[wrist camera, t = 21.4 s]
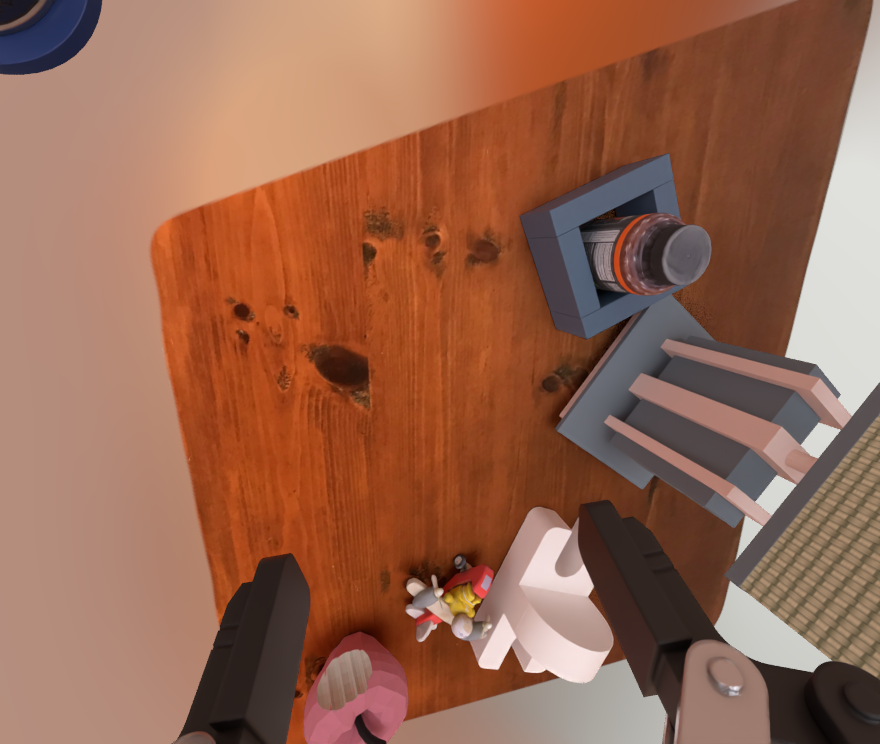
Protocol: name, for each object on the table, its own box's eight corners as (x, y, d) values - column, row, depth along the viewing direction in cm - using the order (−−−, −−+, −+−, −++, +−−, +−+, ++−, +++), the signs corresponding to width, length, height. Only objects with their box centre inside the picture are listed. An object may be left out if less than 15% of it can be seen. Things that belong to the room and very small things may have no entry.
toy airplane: (484, 545, 44) (510, 591, 38) (476, 613, 46) (499, 666, 41) (401, 556, 41) (415, 607, 36) (397, 627, 44) (409, 686, 38)
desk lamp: (622, 483, 47) (1161, 899, 17) (539, 427, 42) (1113, 890, 12) (721, 353, 46) (1499, 554, 16) (649, 278, 40) (1623, 362, 10)
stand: (519, 216, 35) (549, 210, 30) (624, 165, 36) (669, 152, 32) (555, 329, 39) (587, 339, 34) (649, 279, 40) (692, 283, 36)
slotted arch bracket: (597, 522, 48) (670, 593, 38) (530, 645, 50) (581, 742, 40) (532, 504, 44) (594, 578, 34) (463, 638, 47) (502, 742, 37)
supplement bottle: (620, 222, 38) (735, 211, 27) (610, 287, 39) (714, 301, 29) (563, 217, 36) (662, 205, 26) (555, 286, 38) (645, 300, 27)
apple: (387, 599, 42) (406, 696, 33) (405, 657, 45) (427, 761, 36) (294, 635, 41) (286, 749, 31) (319, 693, 43) (319, 813, 34)
